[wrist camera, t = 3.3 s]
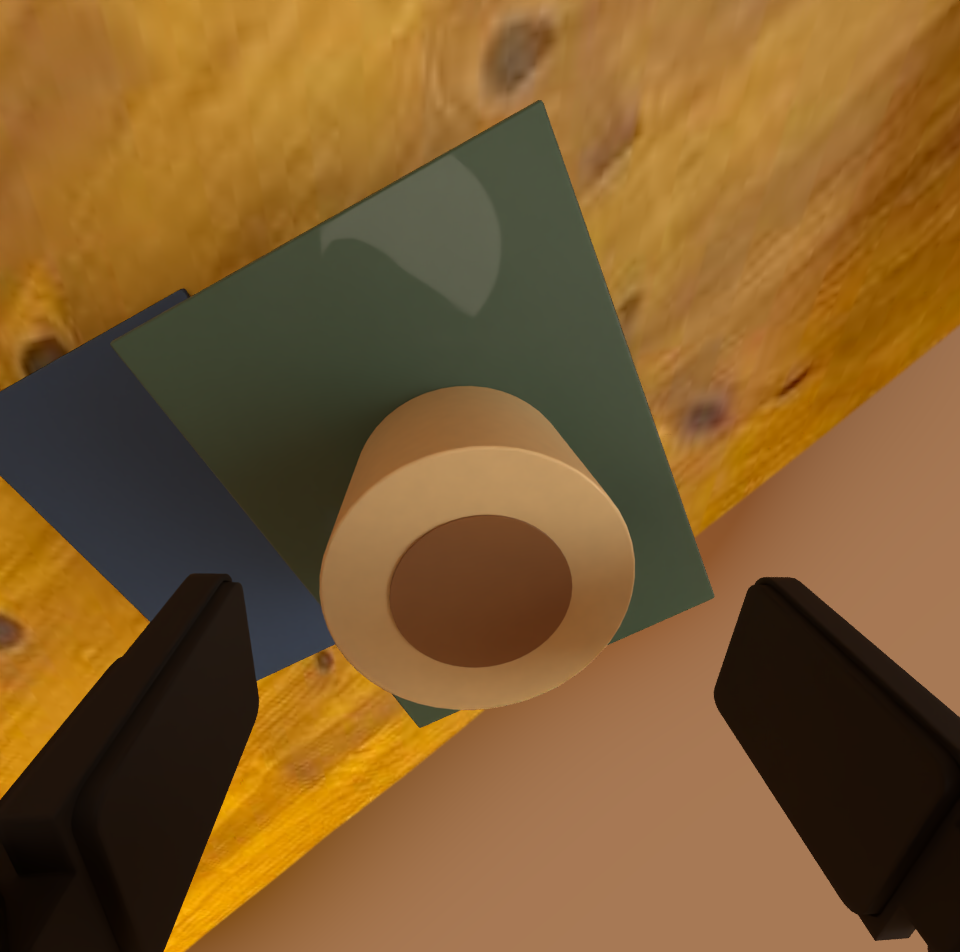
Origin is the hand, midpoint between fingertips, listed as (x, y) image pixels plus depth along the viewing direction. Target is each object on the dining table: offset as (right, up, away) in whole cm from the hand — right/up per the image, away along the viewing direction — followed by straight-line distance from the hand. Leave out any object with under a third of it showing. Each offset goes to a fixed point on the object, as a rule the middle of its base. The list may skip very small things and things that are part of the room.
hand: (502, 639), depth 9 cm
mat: (-15, 0, +17) cm, 22 cm away
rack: (-2, +7, +16) cm, 17 cm away
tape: (-1, +3, +6) cm, 6 cm away
